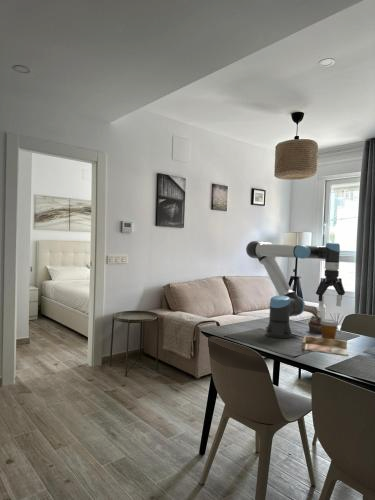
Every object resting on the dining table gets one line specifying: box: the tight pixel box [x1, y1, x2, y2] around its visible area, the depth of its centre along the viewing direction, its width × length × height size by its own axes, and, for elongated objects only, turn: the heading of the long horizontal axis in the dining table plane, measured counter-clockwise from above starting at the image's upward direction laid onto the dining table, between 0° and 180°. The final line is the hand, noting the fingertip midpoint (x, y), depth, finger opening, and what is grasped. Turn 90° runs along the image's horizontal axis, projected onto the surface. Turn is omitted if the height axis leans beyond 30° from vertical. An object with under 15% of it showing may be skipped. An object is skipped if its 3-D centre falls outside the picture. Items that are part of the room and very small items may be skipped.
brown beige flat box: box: [302, 335, 349, 357], centre depth 189 cm, size 22×15×4 cm
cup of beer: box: [320, 318, 339, 340], centre depth 205 cm, size 10×10×12 cm
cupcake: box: [307, 315, 323, 334], centre depth 229 cm, size 10×10×10 cm
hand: (330, 306), depth 204 cm, fingers open, 13 cm apart
